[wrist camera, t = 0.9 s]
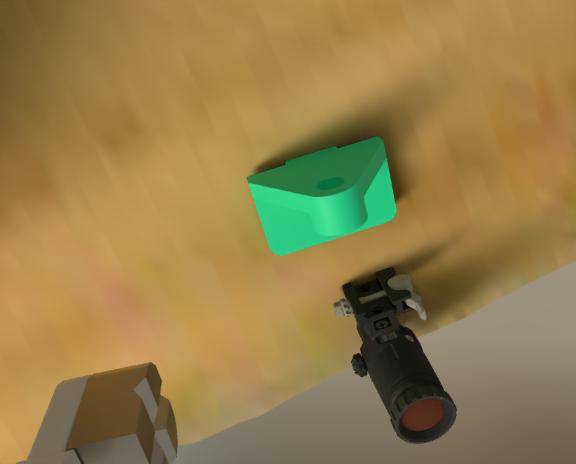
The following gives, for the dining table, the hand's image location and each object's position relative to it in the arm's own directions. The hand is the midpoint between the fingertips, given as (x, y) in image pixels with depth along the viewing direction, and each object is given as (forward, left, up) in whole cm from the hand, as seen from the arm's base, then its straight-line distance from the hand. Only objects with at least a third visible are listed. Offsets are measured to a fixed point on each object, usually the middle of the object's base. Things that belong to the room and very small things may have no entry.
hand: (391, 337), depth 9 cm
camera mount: (+7, -11, -37) cm, 39 cm away
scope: (+13, -25, -37) cm, 46 cm away
